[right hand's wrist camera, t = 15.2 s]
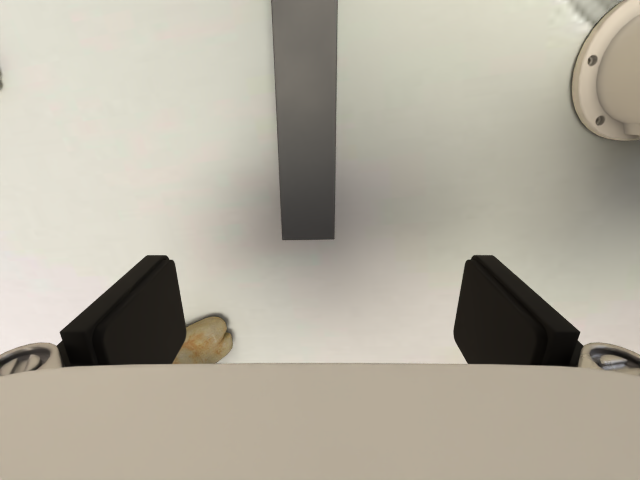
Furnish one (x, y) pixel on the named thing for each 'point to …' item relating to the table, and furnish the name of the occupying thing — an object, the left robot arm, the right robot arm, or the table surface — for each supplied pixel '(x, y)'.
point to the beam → (306, 115)
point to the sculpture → (205, 342)
